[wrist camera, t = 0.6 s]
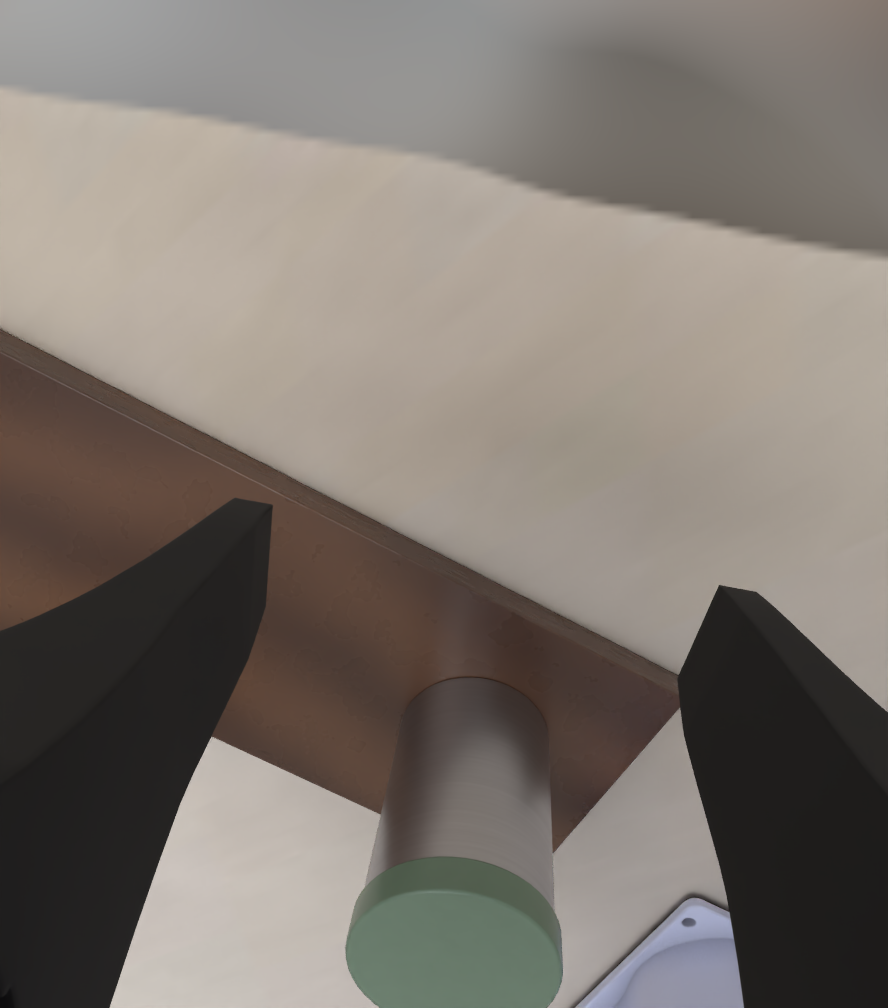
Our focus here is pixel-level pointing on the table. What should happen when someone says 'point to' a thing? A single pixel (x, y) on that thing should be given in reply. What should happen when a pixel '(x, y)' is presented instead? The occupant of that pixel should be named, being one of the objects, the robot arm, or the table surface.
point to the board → (302, 595)
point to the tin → (462, 859)
